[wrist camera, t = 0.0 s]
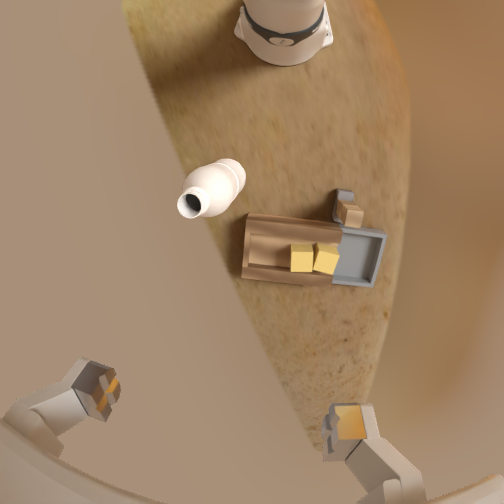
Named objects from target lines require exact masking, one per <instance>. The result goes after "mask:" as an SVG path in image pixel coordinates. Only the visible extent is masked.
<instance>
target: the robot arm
mask: <svg viewBox="0 0 504 504" xmlns="http://www.w3.org/2000/svg"><path fill="white" fill-rule="evenodd" d="M243 1H244V6H241V8H240V16H239V19H238V21H237V24H236V27H235V29H234V34H235V36H236V37H238V38H239V39H241V40H243V41H244V42H246V43H247V45H248V46H249V48H250V49H251V51H252V52H253V53H254V54H255V55H256V56H257V57H259V58H260V59H262V60H264V61H266V62H268V63H271V64H275V65H280V66H291V65H296V64H300V63H303V62H305V61H307V60H308V59H310V58H311V57H312V56H314V55H315V54H316V52H317V51H319V50H320V49H322V48H325V47H328V46H330V45H331V44H332V43H333V36H332V31H331V26H330V22H329V17H328V13H327V8H326V4H325V0H243ZM326 35H328V36H326ZM115 375H116V372H115V370H114V368H111V367H108V366H105V365H102V364H100V363H97V362H94V361H91V360H89V359H86V358H83V357H81V358H79V359H78V360H77V361H76V363H75V364H74V365H73V367H72V368H71V369H70V371H69V372H68V373H67V375H66V376H65V377H64V379H63V380H62V381H61V383H60V382H56V383H54V384H51V385H49V386H47V387H44V388H42V389H40V390H37V391H35V392H32V393H30V394H27V395H25V396H23V397H20V398H18V399H16V401H15V402H14V403H13V405H12V406H11V407H10V409H9V410H8V411H7V413H6V414H5V416H4V417H3V418H2V419H1V418H0V504H166V503H163V502H159V501H156V500H152V499H149V498H146V497H143V496H140V495H137V494H135V493H132V492H129V491H126V490H124V489H121V488H119V487H116V486H114V485H111V484H109V483H107V482H104V481H102V480H100V479H98V478H95V477H93V476H91V475H89V474H87V473H85V472H83V471H81V470H79V469H77V468H75V467H73V466H71V465H70V464H68V463H66V462H64V461H62V460H60V459H59V456H60V454H61V452H62V451H63V449H64V446H63V444H62V443H61V441H60V440H59V439H58V438H57V436H59V435H61V434H62V433H64V432H65V431H67V430H69V429H70V428H72V427H73V426H75V425H76V424H78V423H79V422H81V421H83V420H84V419H86V418H87V417H88V416H90V417H93V418H96V419H98V420H101V421H104V422H106V421H107V419H108V417H109V415H110V413H111V411H112V408H111V405H112V404H114V403H116V402H117V400H118V398H119V395H120V391H121V390H120V384H119V381H118V380H117V379H116V378H115ZM321 435H322V438H323V439H324V441H325V443H324V445H323V447H322V452H323V461H345V464H346V465H347V466H348V468H349V469H350V470H351V472H352V473H353V474H354V476H355V477H356V478H357V479H358V481H359V482H360V483H361V485H362V486H363V487H364V489H365V490H366V491H367V493H368V494H367V495H366V496H364V497H363V498H361V499H360V500H359V501H358V502H357V503H356V504H504V477H503V476H501V475H499V474H492V475H489V476H487V477H485V478H483V479H481V480H479V481H477V482H474V483H472V484H470V485H468V486H465V487H463V488H460V489H458V490H456V491H453V492H450V493H448V494H445V495H442V496H439V497H436V498H434V499H430V500H427V499H426V494H425V489H424V484H423V480H422V475H421V472H420V471H419V470H417V469H416V468H415V467H414V466H413V465H412V464H411V463H410V462H409V461H408V460H407V459H406V458H405V457H403V455H402V454H400V453H399V452H398V451H397V450H396V449H395V448H394V447H393V446H392V445H391V444H390V443H389V442H388V441H387V440H386V439H385V438H380V434H379V430H378V426H377V422H376V417H375V414H374V409H373V405H372V404H371V403H332V404H331V405H330V407H329V414H327V415H325V417H324V419H323V422H322V429H321Z"/></svg>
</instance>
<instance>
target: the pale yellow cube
mask: <svg viewBox="0 0 504 504" xmlns="http://www.w3.org/2000/svg"><path fill="white" fill-rule="evenodd" d="M339 256H340V255H339V253H338V251H337V249H336V248H335V247H332V246H328V245H324V244H320V243H317V244H316V247H315V250H314V253H313V267H312V269H313V270H316V271H320V272H324V273H328V274H332V275H333V272H334V270H335V267H336V264H337V262H338V259H339Z"/></svg>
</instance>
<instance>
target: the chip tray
mask: <svg viewBox="0 0 504 504" xmlns="http://www.w3.org/2000/svg"><path fill="white" fill-rule="evenodd" d="M339 226H340V227H341V229H342V230H343V235H342V240H341V244H338V246H337V251H338V253H339V255H340V256H339V259H338V262H337V264H336V267H335V270H334V272H333V281H332V283H334V284H343V285H353V286H364V287H373V286H374V282H375V279H376V276H377V272H378V269H379V265H380V262H381V258H382V254H383V250H384V246H385V242H386V238H387V234H386V233H385V232H384V231H383V230H379V229H373V228H366V227H361V228H355V227H348V226H344V224H339Z"/></svg>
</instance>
